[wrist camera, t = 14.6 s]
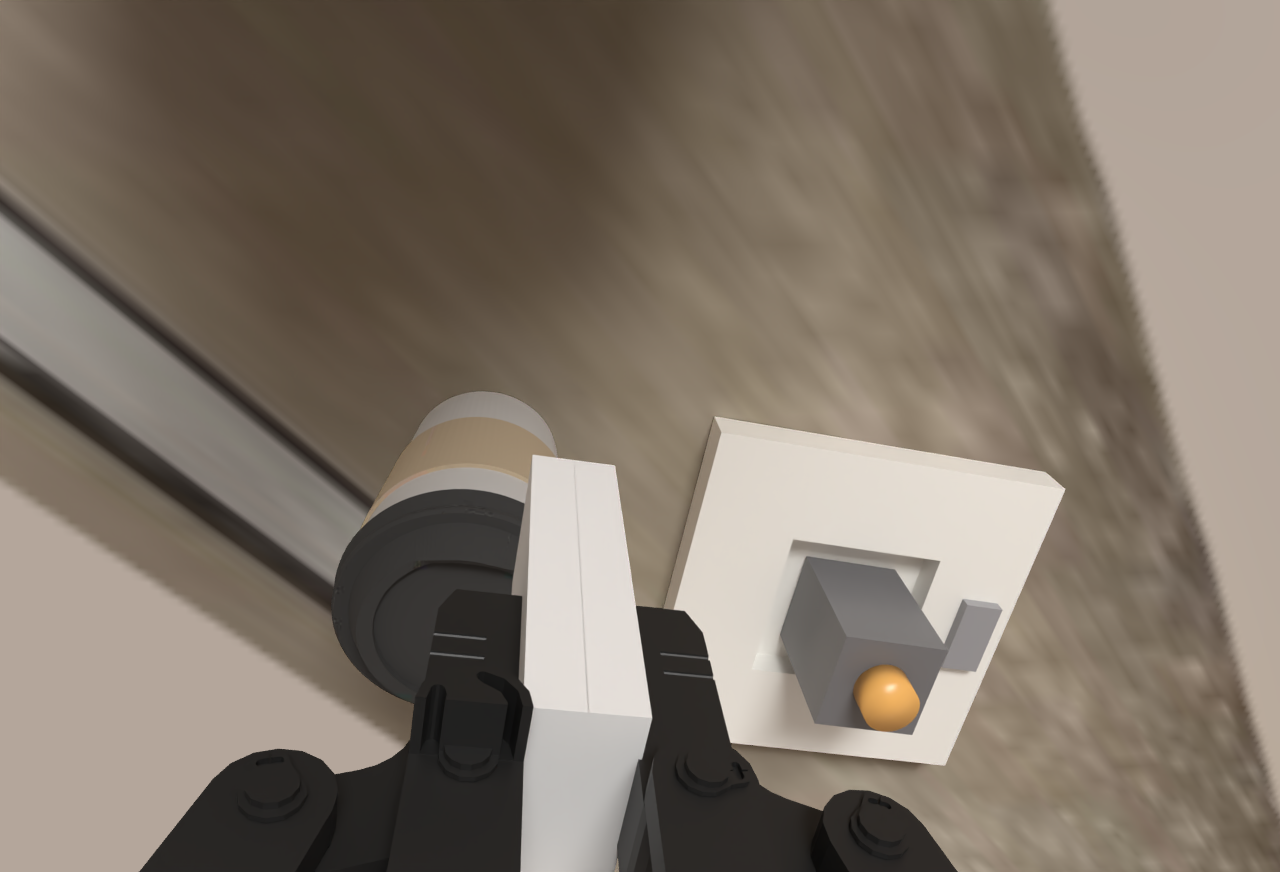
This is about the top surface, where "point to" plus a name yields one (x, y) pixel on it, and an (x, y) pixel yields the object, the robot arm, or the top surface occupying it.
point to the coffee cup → (436, 533)
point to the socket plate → (856, 533)
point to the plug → (860, 647)
